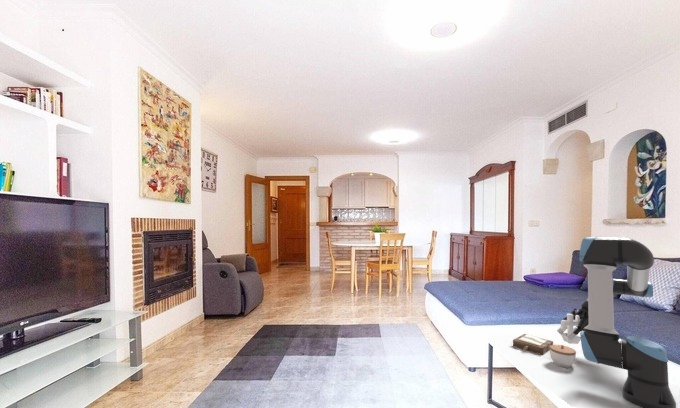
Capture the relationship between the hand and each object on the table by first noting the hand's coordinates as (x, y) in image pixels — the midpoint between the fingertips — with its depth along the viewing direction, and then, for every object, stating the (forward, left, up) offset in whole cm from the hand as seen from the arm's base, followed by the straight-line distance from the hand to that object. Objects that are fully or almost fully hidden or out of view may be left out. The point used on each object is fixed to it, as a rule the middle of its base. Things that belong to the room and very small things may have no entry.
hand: (564, 335), depth 172 cm
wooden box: (-7, +14, -9) cm, 18 cm away
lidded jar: (-18, -4, -10) cm, 21 cm away
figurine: (+3, -2, -4) cm, 5 cm away
